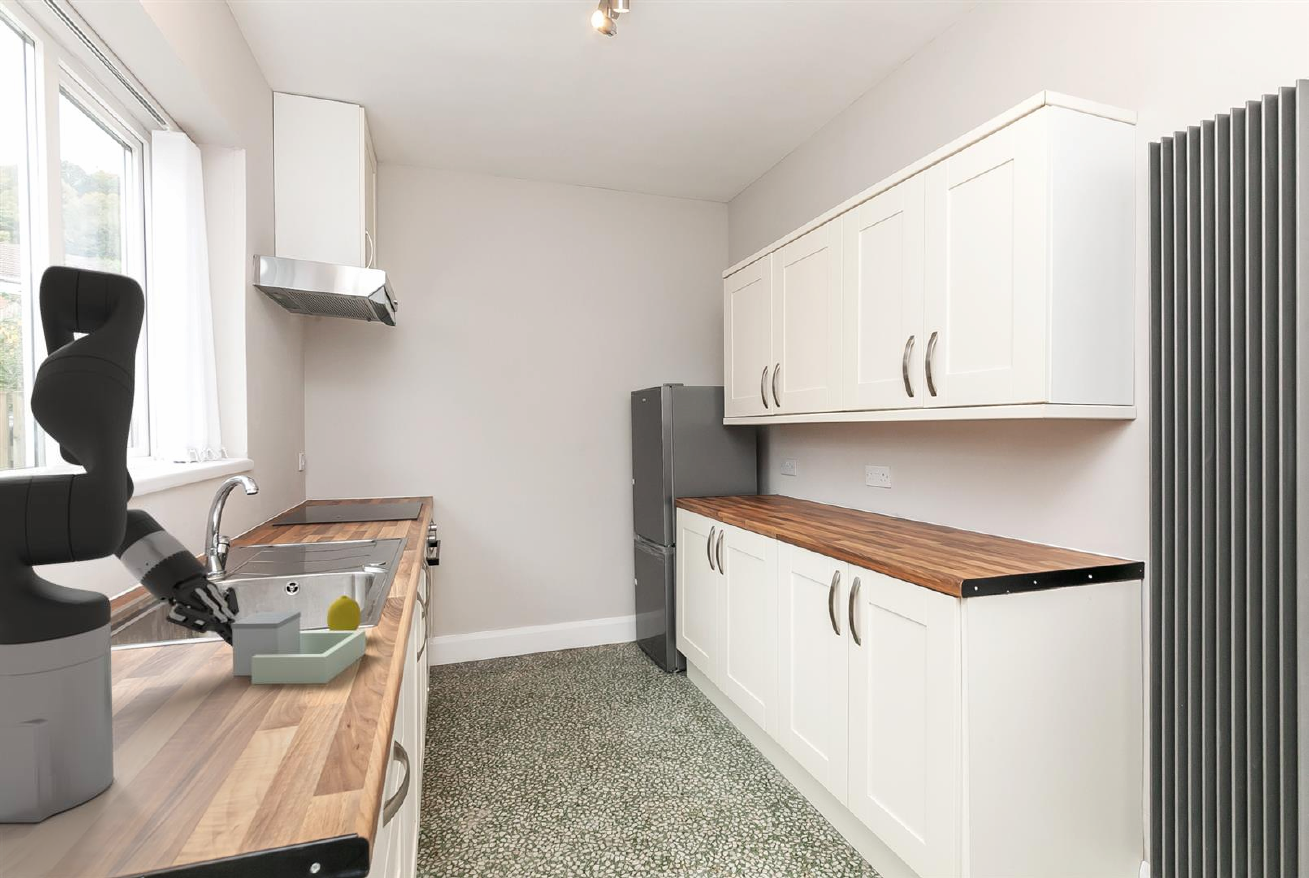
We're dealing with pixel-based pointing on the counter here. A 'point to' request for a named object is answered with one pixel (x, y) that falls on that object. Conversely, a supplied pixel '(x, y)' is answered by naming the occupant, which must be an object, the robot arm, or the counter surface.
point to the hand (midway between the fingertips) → (241, 642)
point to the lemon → (344, 615)
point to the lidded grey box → (264, 637)
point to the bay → (310, 658)
